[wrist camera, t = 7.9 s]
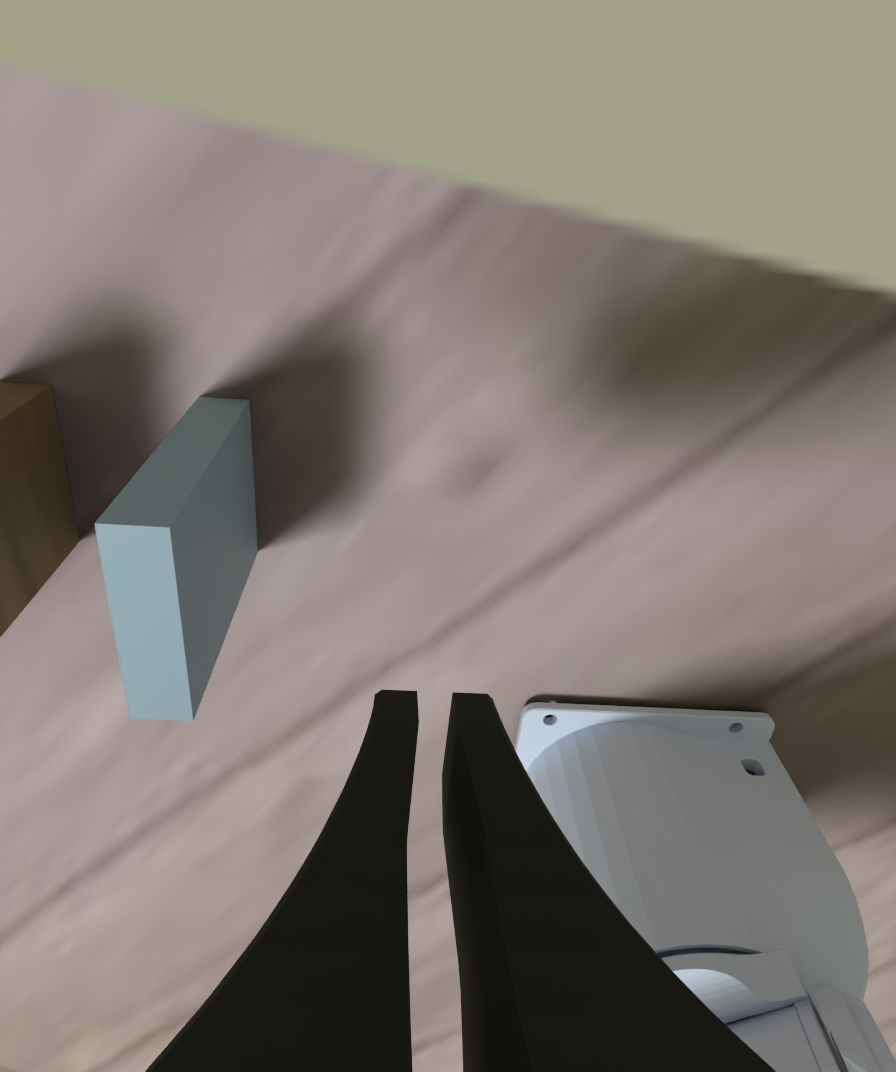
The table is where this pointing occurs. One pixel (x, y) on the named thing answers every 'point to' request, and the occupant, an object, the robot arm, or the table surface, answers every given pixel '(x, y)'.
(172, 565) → the domino
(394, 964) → the robot arm
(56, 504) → the domino
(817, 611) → the table surface
